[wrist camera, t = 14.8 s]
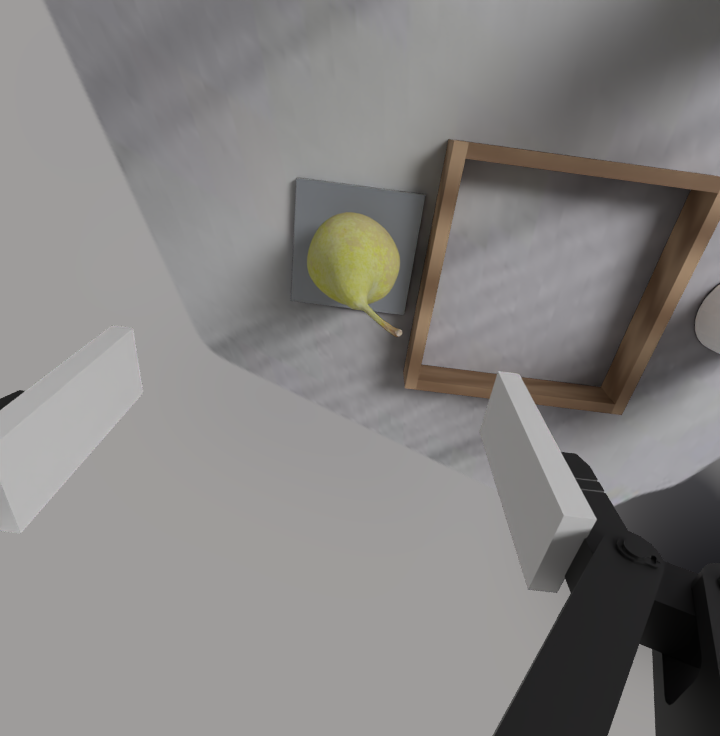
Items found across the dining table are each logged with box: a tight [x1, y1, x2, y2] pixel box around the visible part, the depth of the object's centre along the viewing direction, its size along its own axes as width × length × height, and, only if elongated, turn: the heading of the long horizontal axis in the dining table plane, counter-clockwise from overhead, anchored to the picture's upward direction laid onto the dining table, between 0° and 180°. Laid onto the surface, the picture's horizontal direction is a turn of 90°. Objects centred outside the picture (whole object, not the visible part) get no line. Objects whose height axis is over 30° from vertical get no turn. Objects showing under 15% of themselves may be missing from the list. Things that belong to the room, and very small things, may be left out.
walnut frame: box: [403, 139, 720, 415], centre depth 36 cm, size 20×20×3 cm
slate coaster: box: [291, 177, 425, 315], centre depth 37 cm, size 10×10×1 cm
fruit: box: [307, 212, 402, 337], centre depth 31 cm, size 7×8×12 cm
